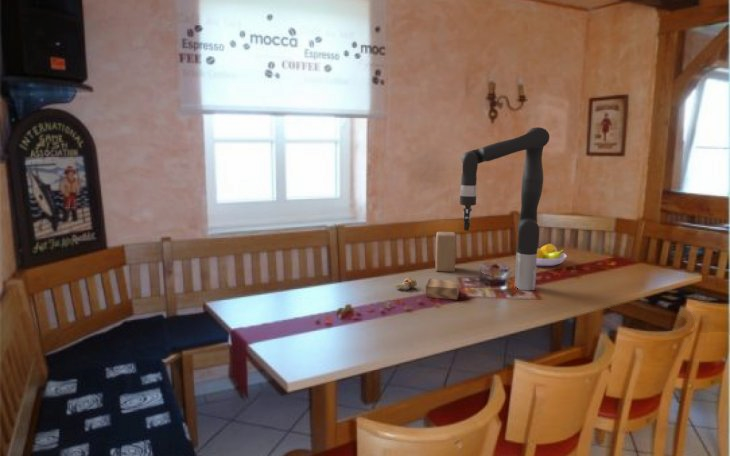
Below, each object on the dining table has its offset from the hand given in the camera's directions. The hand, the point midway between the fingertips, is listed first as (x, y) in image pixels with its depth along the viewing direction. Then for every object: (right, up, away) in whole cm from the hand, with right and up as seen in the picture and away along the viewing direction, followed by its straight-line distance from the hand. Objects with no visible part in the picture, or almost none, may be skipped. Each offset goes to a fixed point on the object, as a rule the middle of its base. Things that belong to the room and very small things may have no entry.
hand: (466, 228), depth 248 cm
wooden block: (-5, -22, +35) cm, 42 cm away
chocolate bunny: (-25, -25, +2) cm, 36 cm away
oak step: (-13, -30, -8) cm, 34 cm away
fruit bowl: (+52, -20, +48) cm, 74 cm away
